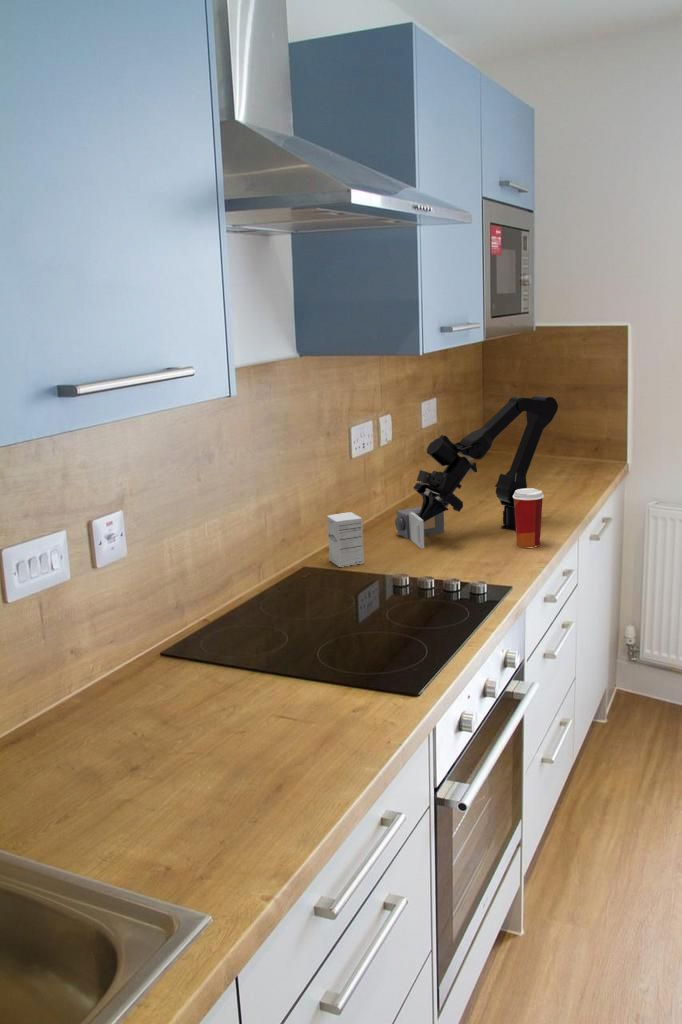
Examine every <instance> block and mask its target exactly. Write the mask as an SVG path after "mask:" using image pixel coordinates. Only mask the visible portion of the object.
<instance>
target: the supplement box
mask: <svg viewBox="0 0 682 1024" xmlns="http://www.w3.org/2000/svg"><path fill="white" fill-rule="evenodd" d="M326 519H327V537H328V539H327V540H328V554H329V555H328V557H329V558H328V559H329V562H332V563H333V564H334V565H336V567H338V568H339V567H342V568H345V567H344V566H348V567H351V566H350V565H354V566H358V565H357V564H360V565H364V564H365V554H364V552H365V549H364V529H363V528H364V527H363V518H362V517H361V516H360V515H357V514H356V513H354V512H351V511H350V512H349V511H348V512H342V513H336V514H330V515H326Z"/></svg>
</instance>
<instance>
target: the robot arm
mask: <svg viewBox="0 0 682 1024" xmlns="http://www.w3.org/2000/svg"><path fill="white" fill-rule="evenodd" d="M558 410H559V404H558V402H557V400H556V398H554V397H552V396H547V395H540V394H539V395H534V396H532V397H522V396H512V397H511V398H510V399H508V402H507V403H506V404H504V406H503V407H501V408H500V409H499V410H498V412H496V413H495V414H494V415H493V416H492V417H491V418H490V419H489V420H488V421H487V422H486V423H485V424H484V425H483V426H482V427H480V428H479V429H476V430H474V431H471V432H470V433H469V434H467V435H465V436H464V437H462V438H461V439H460V441H458V442H452V441H451V440H450V438H449V437H448V436H446V435H444V434H441V435H440V436H439V437H438V438H435V439H434V440H433V441H431V442H430V443H429V445H428V446H427V448H426V454H428V456H430V457H431V459H433V460H434V461H435V462H437V464H439V465H440V466H441V467H445V466H446V467H445V469H443V470H442V471H437V470H433V471H432V472H429V471H425V470H422V469H419V472H418V475H417V478H416V481H417V482H416V483H415V484H414V486H413V487H412V488H413V490H414V491H415V492H416V493H418V494H419V495H420V496H421V497H422V504H421V507H422V508H421V511H420V514H419V517H420V518H421V519H423V522H425V521H427V520H429V519H430V518H432V517H434V516H436V515H438V514H440V513H442V512H446V511H448V510H449V508H448V507H449V505H450V506H451V507H452V509H453V511H455V512H458V513H460V512H461V511H462V509H463V507H464V502H463V501H462V500H461V499H460V498H459V497H458V496H457V495H455V494H454V492H455V491H456V490H457V489H458V490H460V489H461V488H462V485H461V483H462V482H463V480H464V478H465V477H466V476H467V474H468V473H469V472H471V473H472V472H473V473H477V472H478V468H477V463H476V461H475V462H474V461H470V460H469V458H470V459H471V460H472V459H473V460H481V459H483V458H484V457H485V456H486V455H487V453H488V452H489V451H490V449H491V448H492V445H493V442H494V440H495V439H496V438H497V437H498V436H499V435H500V434H501V433H503V431H504V430H505V429H507V428H508V427H509V426H510V424H512V422H513V421H514V420H516V419H517V418H518V417H519V416H520V415H521V414H522V413H523V412H525V413H526V415H525V416H526V425H525V428H524V431H523V433H522V436H521V439H520V441H519V444H518V446H517V449H516V452H515V455H514V458H513V461H512V463H511V465H510V467H509V470H508V472H506V473H505V474H503V473H500V474H499V476H498V481H497V482H496V484H495V486H494V488H495V487H496V488H495V494H496V498H497V499H498V500H499V501H500V504H501V505H502V506H503V510H502V525H501V527H500V528H501V529H507V530H513V531H514V530H515V531H516V524H515V508H514V498H513V495H514V493H515V490H518V489H525V488H528V486H527V485H528V484H527V483H528V482H527V474H528V472H529V469H530V465H532V461H533V458H534V456H535V453H536V450H537V447H538V446H539V442H540V441H541V437H542V434H543V431H544V429H545V428H547V426H548V425H549V424H550V423H552V421H553V420H554V418H555V417H556V414H557V413H558ZM459 454H460V455H462V456H460V455H459Z"/></svg>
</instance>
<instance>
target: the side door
mask: <svg viewBox="0 0 682 1024" xmlns="http://www.w3.org/2000/svg"><path fill="white" fill-rule="evenodd" d="M409 536H410V539H409V540H410V541H412V543H413V544H415V545H416V546H417V547H418V548H419V549H421V550H422V549H425V536H424V524H423V519H421V518H420V517H419V516H418V515H416V514H415V513H414V512H413V511H409Z"/></svg>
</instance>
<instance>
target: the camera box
mask: <svg viewBox="0 0 682 1024" xmlns="http://www.w3.org/2000/svg"><path fill="white" fill-rule="evenodd" d="M421 508H422V506H418V507H411V508H407V509H406V508H405V509H400V510H396V518H395V520H394V525H395V528H396V530H397V535H399V536H401V537H403V538H404V539H407V540H408V539H409V540H410V536H409V511H413V512H414V513H415V514H416V515H418V516H419V514H420V511H421ZM444 512H445V511H444ZM444 512H442V513H440V514H438V515H436V516H434V517H432V518H430V519H429V520H427V521H425V522H423V524H424V537H426V535H427V536H431V535H432V534H433V535H438V534H443V533H442V532H444V533H445V516H444V515H445V513H444ZM437 533H438V534H437Z"/></svg>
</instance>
